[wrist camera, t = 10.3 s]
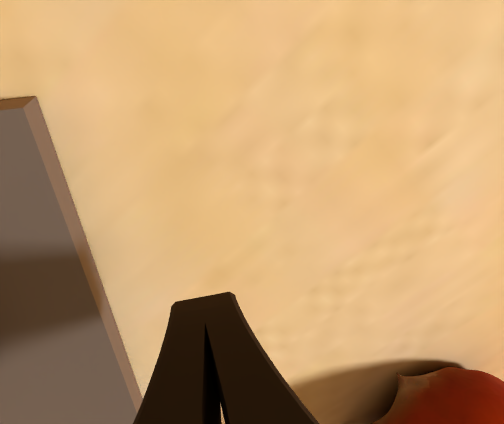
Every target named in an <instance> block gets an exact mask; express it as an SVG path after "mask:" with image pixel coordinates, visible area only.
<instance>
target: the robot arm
mask: <svg viewBox="0 0 504 424" xmlns="http://www.w3.org/2000/svg"><path fill="white" fill-rule="evenodd" d="M220 403H221V406H220ZM221 407H222V411H223V416H224V420H225V424H319V423H318V421H317V420H316V419H315V418H314V417H313V415H312V414H311V413H310V412H309V411H308V409H307V408H306V407H305V406H304V404H303V403H302V402H301V401H300V399H299V398H298V397H297V395H296V394H295V393H294V391H293V390H292V389H291V388H290V386H289V385H288V384H287V382H286V381H285V380H284V378H283V377H282V375H281V374H280V373H279V371H278V370H277V368H276V367H275V366H274V364H273V363H272V361H271V360H270V358H269V357H268V355H267V354H266V352H265V351H264V349H263V348H262V346H261V345H260V343H259V341H258V340H257V338H256V337H255V335H254V333H253V332H252V330H251V328H250V326H249V325H248V323H247V321H246V319H245V317H244V315H243V313H242V311H241V309H240V307H239V305H238V302H237V300H236V297H235V295H234V294H232V293H231V292H226V293H220V294H215V295H210V296H204V297H199V298H194V299H188V300H183V301H177V302H175V303H174V304H173V305H172V307H171V312H170V317H169V322H168V326H167V330H166V334H165V337H164V341H163V344H162V347H161V351H160V354H159V357H158V360H157V363H156V365H155V368H154V371H153V374H152V377H151V380H150V382H149V385H148V388H147V391H146V393H145V396H144V398H143V401H142V403H141V406H140V408H139V410H138V413H137V415H136V418H135V420H134V422H133V424H221Z"/></svg>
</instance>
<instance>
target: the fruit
mask: <svg viewBox="0 0 504 424" xmlns="http://www.w3.org/2000/svg"><path fill="white" fill-rule="evenodd" d="M396 373H397V372H396ZM397 375H398V381H399V385H398V392H397V395H396V398H395V401H394V403H393V405H392V407H391V409H390V410H389V412H388V413H387V414H386V415H385V416H384V417H382V418H380V419H379V420H377V421H375V422H373V423H371V424H504V382H503V381H502V380H500V379H499V378H497V377H495V376H493V375H490V374H488V373H485V372H482V371H478V370H467V369H461V368H456V367H446V368H443V369H440V370H438V371H435V372H431V373H428V374H425V375H418V376H400V375H399V374H398V373H397Z"/></svg>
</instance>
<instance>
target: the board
mask: <svg viewBox="0 0 504 424" xmlns="http://www.w3.org/2000/svg"><path fill="white" fill-rule="evenodd" d="M142 401H143V399H142V396H141V393H140V390H139V388H138V385H137V382H136V379H135V376H134V373H133V371H132V368H131V365H130V362H129V359H128V356H127V353H126V351H125V348H124V345H123V342H122V339H121V336H120V333H119V331H118V328H117V325H116V322H115V319H114V316H113V314H112V311H111V308H110V305H109V302H108V299H107V296H106V294H105V291H104V288H103V285H102V282H101V279H100V276H99V274H98V271H97V268H96V265H95V262H94V259H93V256H92V254H91V251H90V248H89V245H88V242H87V239H86V237H85V234H84V231H83V228H82V225H81V222H80V219H79V217H78V214H77V211H76V208H75V205H74V202H73V199H72V197H71V194H70V191H69V188H68V185H67V182H66V180H65V177H64V174H63V171H62V168H61V165H60V162H59V160H58V157H57V154H56V151H55V148H54V145H53V142H52V140H51V137H50V134H49V131H48V128H47V125H46V122H45V120H44V117H43V114H42V111H41V108H40V105H39V103H38V100H37V97H36V96H33V97H24V98H16V99H7V100H0V424H133V422H134V420H135V418H136V415H137V413H138V410H139V408H140V406H141V403H142Z"/></svg>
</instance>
